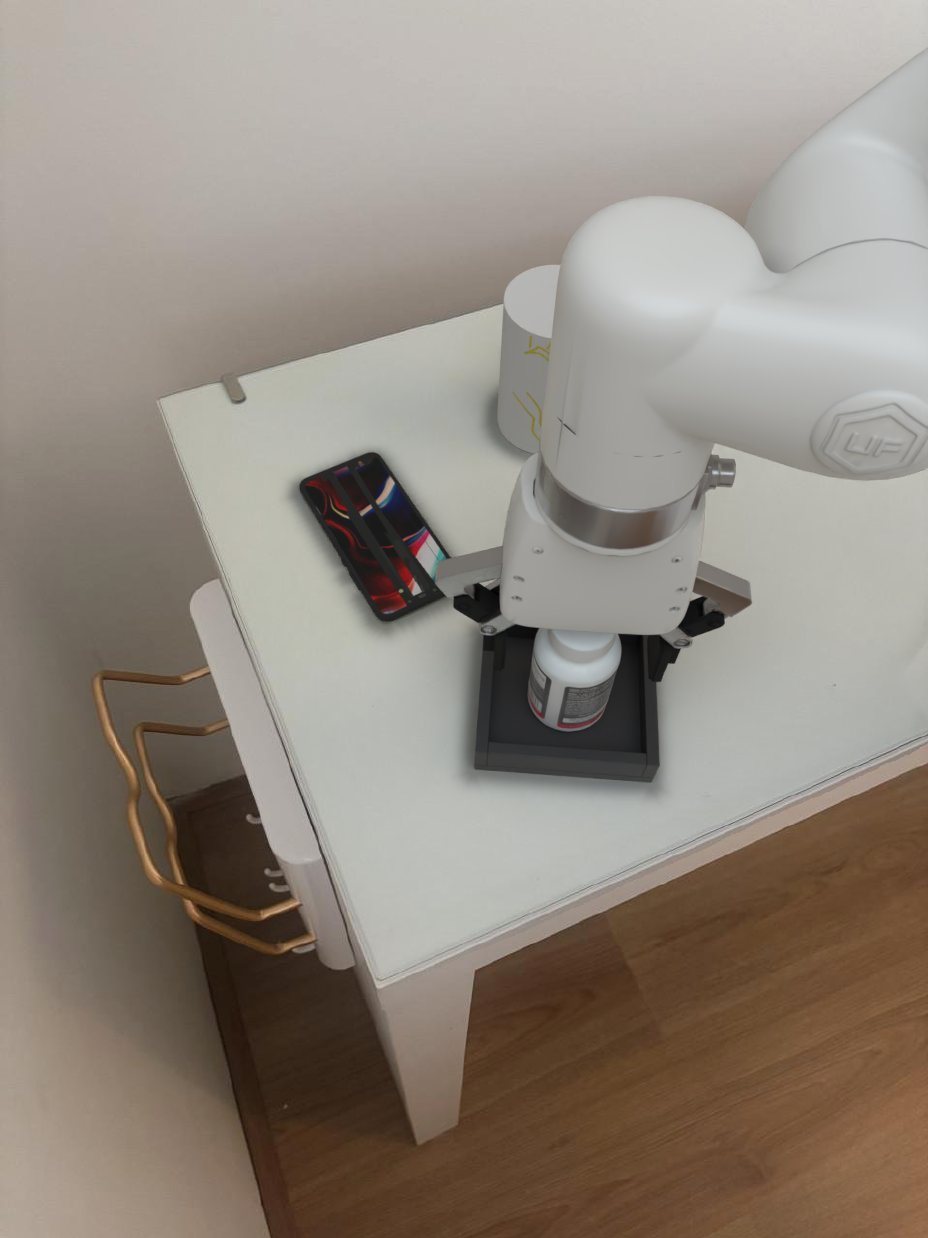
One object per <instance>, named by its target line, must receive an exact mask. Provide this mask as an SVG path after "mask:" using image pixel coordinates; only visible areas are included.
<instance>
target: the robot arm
mask: <svg viewBox="0 0 928 1238" xmlns="http://www.w3.org/2000/svg"><path fill="white" fill-rule="evenodd" d="M745 218H746V219H745V221H744V225H743V226H742V225H741V224H740V223H739V222H737V221H736V220H734V219H733V218H732V217H730V216H729V215H727V214H726V213H724V212H723V211H721V210H719V209H717V208H715V207H713V206H711V205H709V204H705V203H703V202H700V201H697V200H694V199H688V198H685V197H679V196H678V197H677V196H671V195H646V196H638V197H633V198H628V199H623V200H621V201H618V202H615V203H612V204H610V205H607V206H605V207H603V208H601V209H600V210H598V211H596V212H595V213H593V214H592V215H591V216H589V217H588V218H587V219H586V220H585V221H584V222H583V223H582V224H581V225H580V226H579V227H578V228H577V229H576V231H575V232H574V234H573V235H572V237H571V238H570V240H569V241H568V243H567V245H566V247H565V250H564V252H563V254H562V257H561V260H560V264H559V265H560V270H559V276H558V282H557V290H556V299H555V309H554V318H553V327H552V336H551V346H550V355H549V364H548V373H547V382H546V391H545V399H544V407H543V415H542V425H541V433H540V442H539V451H538V453H535V454H533V453H532V454H531V455H530V456H529V457H528V458H527V459H526V461H525V462H524V463H523V465H522V467H521V469H520V471H519V474H518V476H517V478H516V481H515V483H514V487H513V489H512V492H511V496H510V500H509V505H508V508H507V513H506V517H505V518H506V519H505V524H504V531H503V538H502V545H500V546H496V547H491V548H487V549H483V550H478V551H475V552H471V553H467V554H462V555H458V556H454V557H451V558H450V559H446V560H441V561H439V562H438V563H437V568H436V577H435V584H436V585H437V587H438V588H439V589H440V590H441V591H442V592H443V593H444V594H445V595H446V596H445V597H446V598H447V599H450V600H451V601H452V607H453V609H454V610H456V611H457V612H458V613H461V615H463V616H466V617H467V618H469V619H470V620H472V621H474V622H475V623H477V624H478V628H477V629H478V632H479V633H480V634H481V635H483V637H482V652H483V651H494V660H493V671H501V669H504V668H505V657H506V646H507V633H508V628H509V627H511V626H513V625H515V624H518V625H522V626H527V627H536V628H547V629H559V630H572V631H586V632H602V633H617V634H636V635H648V639H647V652H648V678H649V679H651V680H652V682H656V683H662V680H663V678H664V675H665V672H666V670H667V668H668V665H669V664H670V665H675V664H676V663H677V659H678V657H679V655H680V653H681V650H682V649H684V650H685V649H688V648H690V647H691V646H692V645H693V638H696V637H699V636H701V635H703V634H706V633H708V632H711V631H712V632H713V631H714V630H717V629H720V628H722V627H724V626H725V624H726V621H725V620H727V618H733V617H734V616H736V615H737V614H739V613H741V612H742V611H744V610H745V609H747V608H749V607H750V606H751V605H752V604H753V597H752V585H751V582H750V581H748V580H746V579H744V578H742V577H739V576H737V575H736V574H733V573H730V572H728V571H725V570H723V569H721V568H718V567H715V566H713V565H711V564H709V563H706V562H703V561H702V560H700V558H701V553H702V547H703V540H704V533H705V521H706V502H707V492H708V491H709V490H711V491H714V490H716V489H717V488H729V489H730V488H732V487H733V486H734V483H735V479H736V471H737V464H736V459H735V458H725V457H724V458H723V457H720V456H719V454H713V453H712V452H713V450H714V447H715V445H720V446H723V447H726V448H730V449H731V450H732V449H733V450H735V451H739V452H742V453H746V454H749V455H751V456H755V457H758V458H762V459H764V460H768V461H771V462H774V463H777V464H780V465H783V466H786V467H789V468H793V469H796V470H799V471H803V472H807V473H812V474H816V475H819V476H824V477H828V478H834V479H840V480H841V479H842V480H850V481H861V482H862V481H865V482H868V481H885V480H886V481H887V480H892V479H899V478H903V477H907V476H911V475H914V474H916V473H920V472H922V471H925V470H927V469H928V47H926V48H924V49H923V50H921V51H920V52H919V53H917V54H915V55H914V56H912V57H911V58H910V59H909V60H908V61H906V62H905V63H903V64H902V65H900V66H899V67H898V68H896V70H894V71H893V72H891V73H889V74H888V75H887V76H885V77H884V78H883V79H881V80H880V81H879V82H878V83H876V84H875V85H873V87H871V88H870V89H868V90H867V91H865V92H864V93H863V94H862V95H860V96H859V97H858V98H856V99H855V100H854V101H853V102H851V103H850V104H848V105H847V106H846V107H844V108H843V109H841V111H839V112H838V113H837V114H835V115H834V116H833V117H832V118H831V119H829V120H828V121H826V122H825V123H824V124H823V125H821V126H820V127H819V128H818V129H817V130H815V132H813V133H812V134H811V135H810V136H809V137H807V138H806V139H805V140H803V142H801V143H800V144H799V145H798V146H797V147H796V148H795V149H794V150H793V151H792V152H791V153H789V154H788V156H787V157H786V158H785V159H784V160H783V161H782V162H781V163H780V164H779V166H778V167H777V168H776V169H775V170H774V171H773V172H772V173H771V174H770V176H769V177H768V178H767V179H766V181H765V182H764V183H763V185H762V187H761V188H760V190H759V191H758V193H757V195H755V197H754V199H753V201H752V203H751V206H750V208H749V210H748V213H747V215H746V217H745ZM490 581H491V582H490ZM485 582H489V583H488V584H486V585H483V584H481V583H485ZM693 594H696V595H699V597H697V598H696V597H695V598H694V599H692V595H693ZM691 599H692V600H691Z"/></svg>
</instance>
